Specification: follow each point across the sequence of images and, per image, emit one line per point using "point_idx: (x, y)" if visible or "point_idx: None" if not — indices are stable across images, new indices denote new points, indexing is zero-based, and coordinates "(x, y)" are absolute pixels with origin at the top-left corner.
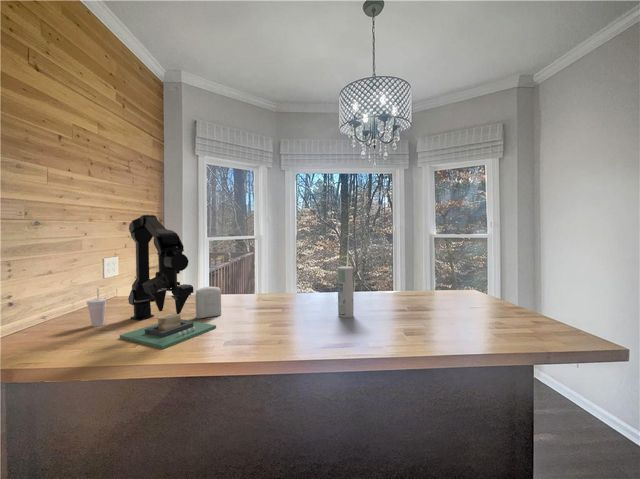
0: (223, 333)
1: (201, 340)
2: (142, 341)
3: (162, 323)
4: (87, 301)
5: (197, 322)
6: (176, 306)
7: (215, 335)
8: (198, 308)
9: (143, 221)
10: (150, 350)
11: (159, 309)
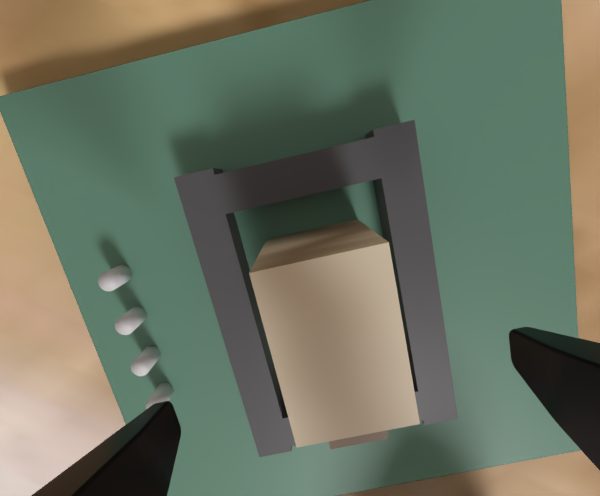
0: (43, 483)
1: (10, 345)
2: (237, 37)
3: (304, 248)
4: None
5: (331, 489)
6: (58, 491)
7: (41, 439)
8: None
9: None
10: (53, 26)
11: (525, 338)
